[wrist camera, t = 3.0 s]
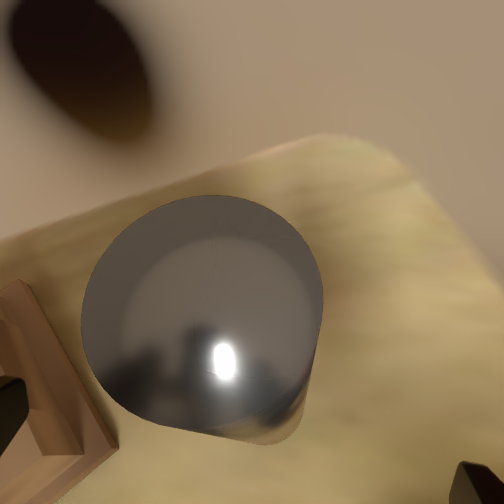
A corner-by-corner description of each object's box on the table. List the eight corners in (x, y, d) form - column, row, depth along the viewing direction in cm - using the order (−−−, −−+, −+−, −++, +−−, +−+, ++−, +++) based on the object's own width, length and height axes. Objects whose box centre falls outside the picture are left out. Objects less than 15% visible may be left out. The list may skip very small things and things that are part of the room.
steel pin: (258, 464, 16) (164, 496, 4) (210, 396, 17) (41, 285, 6) (320, 407, 17) (377, 307, 5) (269, 346, 18) (223, 160, 7)
